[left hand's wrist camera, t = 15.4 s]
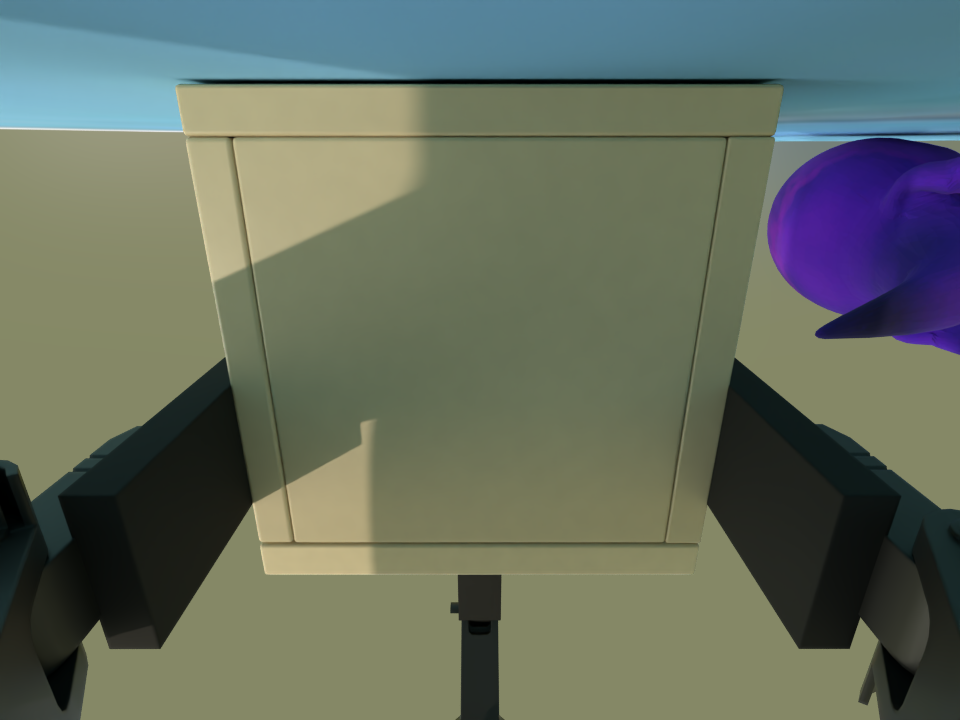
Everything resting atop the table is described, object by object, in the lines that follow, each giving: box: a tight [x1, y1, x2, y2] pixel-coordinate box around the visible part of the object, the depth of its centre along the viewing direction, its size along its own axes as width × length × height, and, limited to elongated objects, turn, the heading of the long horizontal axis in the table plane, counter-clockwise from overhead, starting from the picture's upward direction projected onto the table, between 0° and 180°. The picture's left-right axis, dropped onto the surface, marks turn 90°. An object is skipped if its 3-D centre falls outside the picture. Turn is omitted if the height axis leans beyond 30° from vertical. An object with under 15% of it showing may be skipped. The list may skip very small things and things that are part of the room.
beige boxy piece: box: [260, 539, 699, 575], centre depth 20 cm, size 14×10×8 cm
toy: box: [767, 138, 960, 355], centre depth 45 cm, size 16×18×27 cm
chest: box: [176, 84, 784, 543], centre depth 16 cm, size 13×10×9 cm
